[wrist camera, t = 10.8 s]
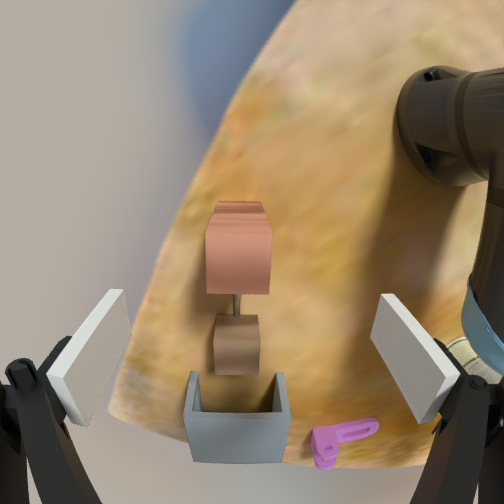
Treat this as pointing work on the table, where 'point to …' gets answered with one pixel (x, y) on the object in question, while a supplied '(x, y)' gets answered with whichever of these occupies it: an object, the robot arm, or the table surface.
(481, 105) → the robot arm
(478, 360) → the coffee can
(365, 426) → the bracket
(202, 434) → the box
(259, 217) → the reddish brown block
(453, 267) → the table surface
